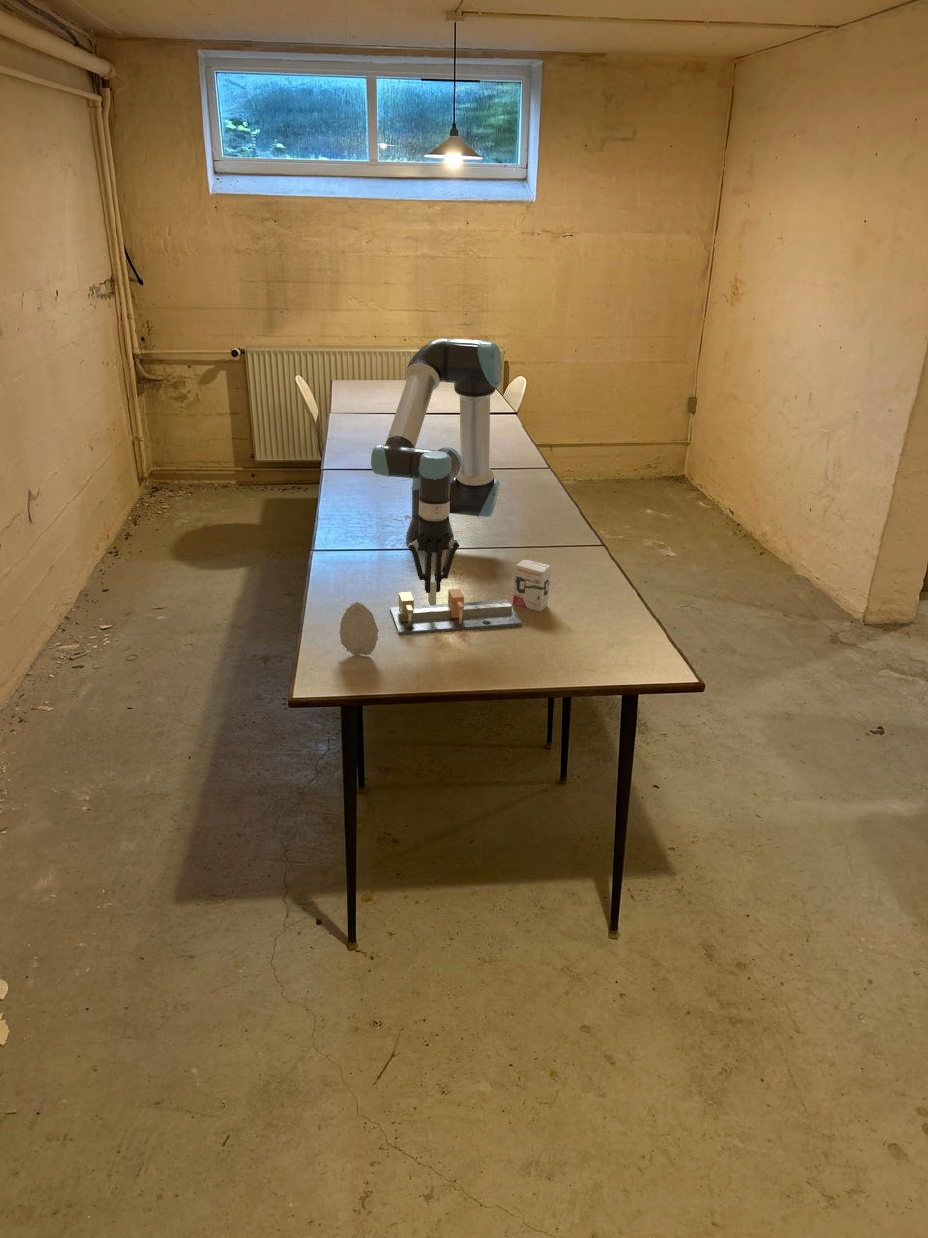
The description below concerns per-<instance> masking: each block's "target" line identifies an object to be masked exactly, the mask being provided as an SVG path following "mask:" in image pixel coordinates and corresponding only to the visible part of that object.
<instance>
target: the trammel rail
mask: <svg viewBox="0 0 928 1238" xmlns="http://www.w3.org/2000/svg"><path fill="white" fill-rule="evenodd" d="M414 606H415V599H414V597H413V595H412V592H411V591H402V592H398V607H399V610H398V619H399V621H402V622H404V621H409V625H408V627H409V628H410V627H411V621H413V620H419V619H433V618H447V617H451V608H450V607H441V608H426V609H414ZM512 608H513V604H511V602H509V603H499V604H485V605H470V606H464V611H463V616H475V615H489V614H503V613H512Z"/></svg>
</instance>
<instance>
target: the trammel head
mask: <svg viewBox="0 0 928 1238" xmlns="http://www.w3.org/2000/svg"><path fill="white" fill-rule="evenodd" d="M447 592H448V595H447V596H448V597H447V604H448V607H450V608H451V618H459V624H462V617H463V611H464V603H465V596H464V594H463V593H462V591H461V588H452V589H448V591H447Z"/></svg>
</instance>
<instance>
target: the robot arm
mask: <svg viewBox="0 0 928 1238" xmlns="http://www.w3.org/2000/svg"><path fill="white" fill-rule="evenodd" d="M502 362H503V361H502V353H501V351H500V348H499V346H498V344H497V343H496V342H493V341H485V340H483V339H479V340H478V339H475V340H474V339H461V338H459V339H458V338H449V337H441V338H436V339H433V340H431V341H429V342H428V343H426V344H424V345H423V346H422V347H420V349H419V350H417V352H415V354H414V355H413V356H412V357H411V359H410V361H409V362H408V365H407V367H406V370H405V372H404V373H405V374H404V376H405V383H404V384H405V385H404V388H403V390H402V392H401V395H400V399H399V403H398V406H397V408H396V411H395V415H394V417H393V421H392V423H391V426H390V429H389V431H388V435H387V438H386V441H385V443H384V444H377V445H375V446H374V447H373V448H372V450H371V455H370V456H371V457H370V466H371V470H372V472H373V473H374V474H375V475H379V476H382V477H383V476H385V477H389V478H390V477H393V478H404V479H412V484H411V485H412V486H411V520H410V522H409V525H408V528H407V531H406V533H405V542H406V544H407V548H409V550H410V552H411V554H412V558H413V562H414V566H415V570H416V574H417V576H418V577H417V578H418V579H419V581H424V591H425V594H428V596H427V597H428V599H427V602H428V603H429V604H428V605H430V606H434V605H436V604H437V593H440V592H441V583H442V581H443V580H444V579H448V578H449V576H450V575H449V574H450V570H451V567H452V564H453V560H454V557H455V554H456V551H457V550H458V549H459V547H460V544H459V542H458V540H456V539H455V535H454V531H453V528H452V524H451V522H450V521H451V520H450V514H453V515H462V516H472V517H477V518H479V517H483V518H484V517H485V518H488V517H491V516H492V515H493V513H494V510H495V508H496V504H497V501H498V496H499V490H500V480H499V479H497V478H495V473H494V471H493V470H492V469H491V468H490V440H491V439H490V438H491V437H490V436H491V433H490V431H491V429H490V427H491V426H490V425H491V396H492V395H494V393H495V392H496V391H497V390H496V389H497V387H499V386H500V385H501V383H502V378H503V363H502ZM440 383H450V384H453V385H454V386H453V387H454V392H455V393H456V394H457V395H458V396H459V433H460V434H459V435H460V437H459V438H460V439H459V441H460V443H459V444H460V445H459V447H460V448H459V449H460V452H459V451H457V450H456V449H454V448H452V447H449V446H447V447H446V446H445V447H441V448H439V449H436V450H434V449H428V448H426V449H425V448H416V446H417V443H418V439H419V436H420V433H421V430H422V426H423V423H424V420H425V417H426V414H427V411H428V408H429V404H430V402H431V398H432V394H433V391H434V390H436V389H437V388H438V387H439V385H440ZM445 549H446V550H447V551H446V556H445V559H444V563H443V566H442V557H443V551H444V550H445ZM418 550H422V551H424V571H423V567H422V564H421V563H422V562H421V559H420V557H419V552H418ZM433 553H434V574H433V575H434V577H432V557H433Z"/></svg>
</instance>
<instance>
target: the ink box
mask: <svg viewBox="0 0 928 1238" xmlns="http://www.w3.org/2000/svg"><path fill="white" fill-rule="evenodd" d="M551 570H552V566H551V565H549V564H545V563H541V562H538V561H534V560H533V561H532V560H529V559H521V561H520V562H518V563H517V564H516V565H515V572H514V586H513V599H512V605H515V606H518V607H522V608H526V609H530V610H534V611H537V612H542V611H543V610H545V608H546V607H547V606H548V602H549V593H550V592H549V591H550V583H551V581H550V580H551Z"/></svg>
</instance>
